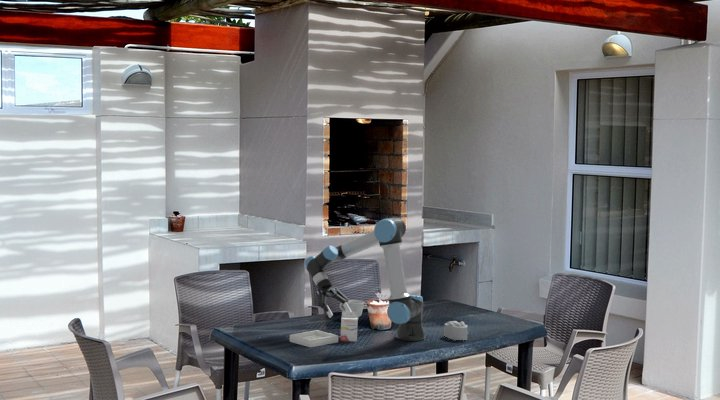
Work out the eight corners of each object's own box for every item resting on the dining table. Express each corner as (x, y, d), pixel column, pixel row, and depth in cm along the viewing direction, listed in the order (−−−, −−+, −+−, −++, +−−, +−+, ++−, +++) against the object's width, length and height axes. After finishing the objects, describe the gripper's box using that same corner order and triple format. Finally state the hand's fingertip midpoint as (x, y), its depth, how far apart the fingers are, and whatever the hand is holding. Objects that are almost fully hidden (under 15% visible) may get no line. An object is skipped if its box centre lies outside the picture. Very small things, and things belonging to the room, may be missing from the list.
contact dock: (338, 342, 458) (338, 335, 458) (310, 347, 445) (310, 340, 445) (317, 336, 470) (317, 330, 469) (289, 341, 456) (289, 334, 456)
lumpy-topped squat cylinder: (456, 334, 485) (457, 319, 485) (471, 339, 474) (472, 323, 474) (441, 336, 480) (441, 320, 479) (456, 341, 469) (457, 325, 468)
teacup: (335, 317, 522) (336, 300, 522) (359, 316, 528) (360, 299, 527) (342, 321, 511) (343, 304, 510) (367, 320, 516) (367, 303, 516)
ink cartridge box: (340, 341, 461) (341, 312, 460) (340, 339, 466) (341, 311, 465) (357, 341, 461) (358, 313, 460) (356, 339, 466) (357, 311, 465)
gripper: (335, 284, 487) (354, 316, 477) (301, 288, 470) (319, 321, 460) (343, 276, 483) (361, 308, 473) (308, 280, 465) (326, 313, 456)
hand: (340, 314), depth 467 cm, fingers open, 13 cm apart
